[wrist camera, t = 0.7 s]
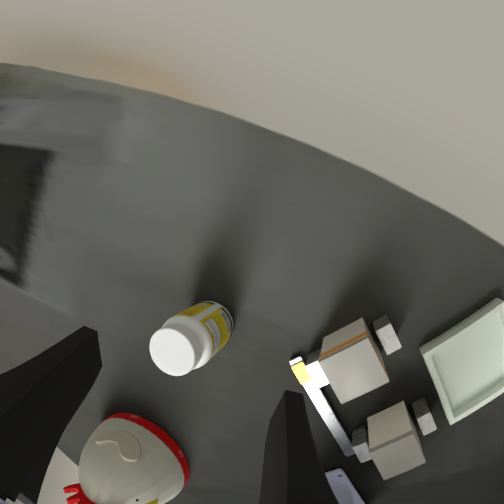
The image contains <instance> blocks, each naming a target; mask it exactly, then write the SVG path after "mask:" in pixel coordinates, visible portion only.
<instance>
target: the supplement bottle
mask: <svg viewBox="0 0 504 504" xmlns="http://www.w3.org/2000/svg"><path fill="white" fill-rule="evenodd" d="M233 328H234V325H233V320H232V317H231V315H230V313H229V312H228V310H227V309H226V308H225V307H223V306H222V305H221V304H219V303H216V302H213V301H203V302H200V303H198V304H196V305H194V306H192V307H190V308H188V309H186V310H185V311H183V312H181V313H179V314H177V315H175V316H173V317H171V318H169V319H168V320H167V321H166V322H165V323H164V324H163V326H162V328H161V329H159V330H157V331H156V332H155V333H154V334H153V336H152V338H151V340H150V354H151V357H152V359H153V361H154V363H155V364H156V365H157V366H158V367H159V368H160V369H161V370H162V371H163V372H165V373H167V374H169V375H173V376H182V375H185V374H187V373H188V372H190V371H191V370H192V369H196V368H199V367H201V366H203V365H204V364H205V363H206V362H208V361H209V360H210V359H211V358H212V357H213V356H214V355H215V354H216V353H217V352H218V351H219V350H220V349H221V348H222V347H223V346H224V345H225V344H226V343H227V342H228V341H229V340H230V338H231V336H232V334H233Z"/></svg>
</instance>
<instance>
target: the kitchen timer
mask: <svg viewBox="0 0 504 504" xmlns="http://www.w3.org/2000/svg"><path fill="white" fill-rule="evenodd" d="M189 470H190V469H189V466H188V462H187V459H186V457H185V455H184V454H183V452H182V451H181V449H180V447H179V446H178V445H177V444H176V442H175V441H174V440H173V439H172V438H171V437H170V436H169V435H168V434H167V433H166V432H164V431H163V430H162V429H161V428H159V427H158V426H157V425H156V424H154V423H152V422H150V421H148V420H146V419H145V418H143V417H140V416H137V415H134V414H131V413H117V414H114V415H111V416H109V417H108V418H107V419H105V420H104V421H103V422H102V423H101V424H100V425H99V426H98V427H97V428H96V430H95V431H94V432H93V433H92V435H91V436H90V438H89V440H88V441H87V443H86V445H85V447H84V449H83V451H82V454H81V457H80V463H79V471H78V476H79V482H80V483H78V484H73V485H69V486H67V487H64V488H63V489H64V492H65V493H71V492H78V493H76V494H75V495H73V496H70V497H69V498H67V502H68V504H74V503H77V504H165V503H166V502H168V501H170V500H171V499H173V498H174V497H175V496H176V495H177V494H178V493H179V492H180V491H181V490H182V488H183V487H184V486H185V484H186V482H187V481H188V479H189Z"/></svg>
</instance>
